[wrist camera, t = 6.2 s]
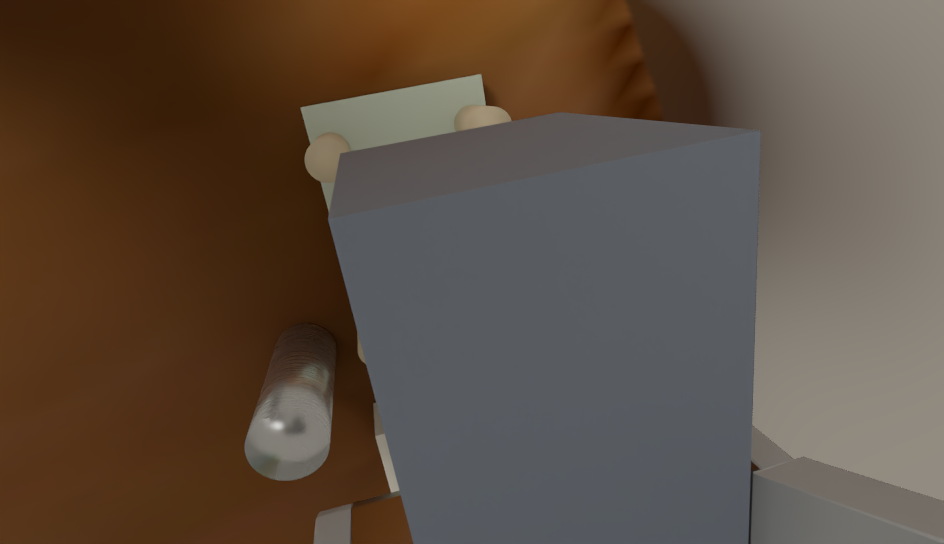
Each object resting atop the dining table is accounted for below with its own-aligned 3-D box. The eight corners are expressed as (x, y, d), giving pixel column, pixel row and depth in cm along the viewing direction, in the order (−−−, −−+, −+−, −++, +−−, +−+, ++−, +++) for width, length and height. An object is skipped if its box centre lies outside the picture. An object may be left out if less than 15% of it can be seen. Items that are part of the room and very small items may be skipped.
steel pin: (267, 331, 26) (233, 423, 19) (328, 316, 27) (317, 402, 19) (284, 382, 27) (259, 490, 20) (343, 368, 28) (338, 467, 20)
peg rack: (302, 106, 23) (289, 109, 19) (476, 75, 25) (504, 69, 20) (366, 344, 28) (369, 394, 23) (513, 307, 29) (544, 348, 24)
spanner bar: (340, 153, 8) (328, 220, 4) (558, 112, 8) (760, 130, 4) (461, 648, 12) (521, 953, 8) (607, 599, 12) (739, 860, 8)
